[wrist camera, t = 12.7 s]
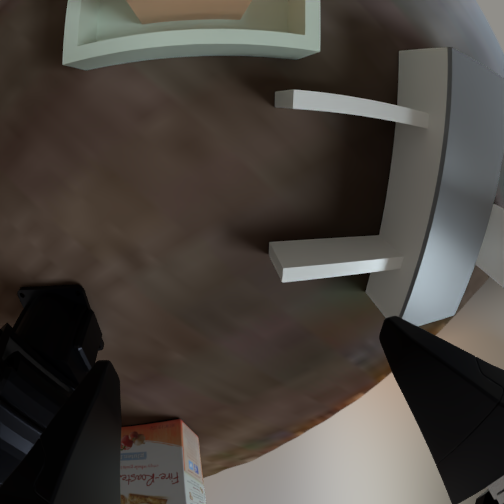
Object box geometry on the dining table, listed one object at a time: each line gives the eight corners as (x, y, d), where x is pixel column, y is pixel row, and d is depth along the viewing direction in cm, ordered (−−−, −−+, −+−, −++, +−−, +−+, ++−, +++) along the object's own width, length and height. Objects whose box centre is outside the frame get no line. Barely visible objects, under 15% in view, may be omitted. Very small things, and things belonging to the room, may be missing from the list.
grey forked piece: (459, 75, 16) (508, 81, 12) (421, 282, 26) (454, 315, 21) (276, 24, 14) (308, -2, 9) (265, 305, 23) (283, 355, 18)
